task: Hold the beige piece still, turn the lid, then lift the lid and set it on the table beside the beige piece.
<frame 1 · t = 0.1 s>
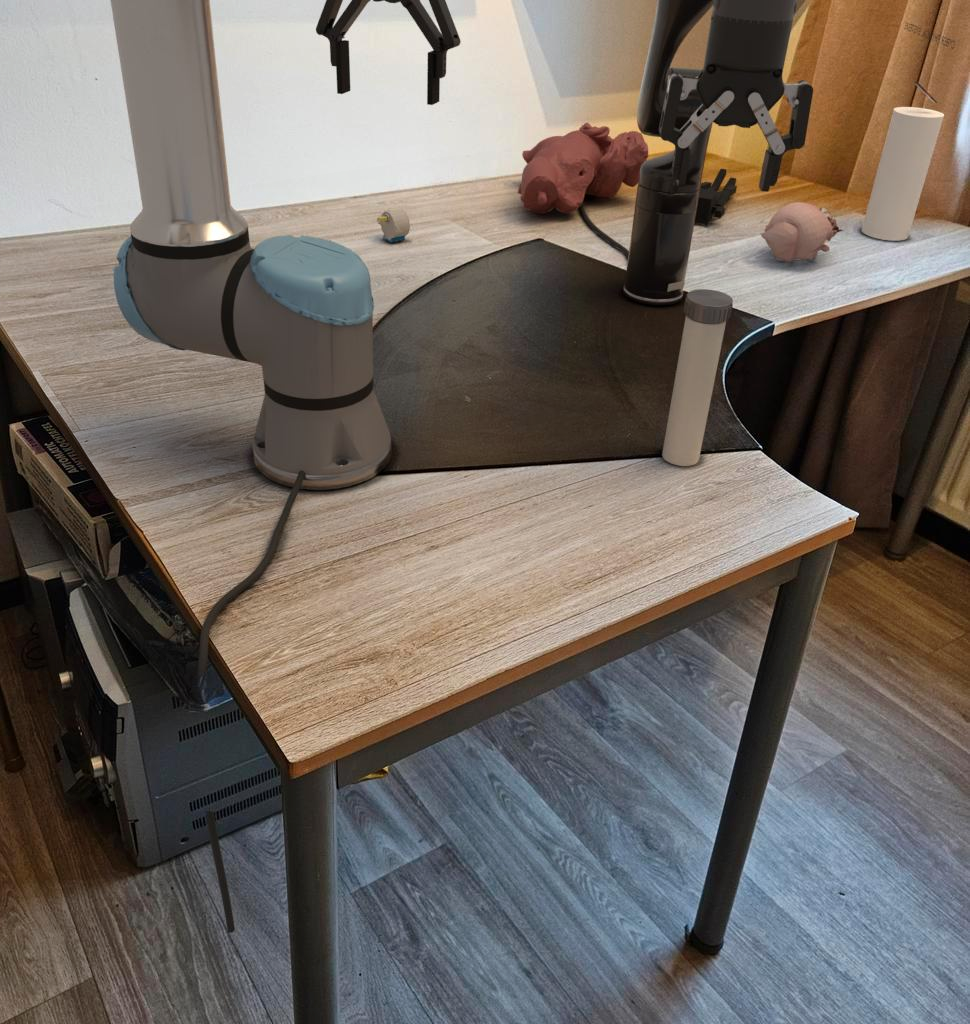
left hand: (388, 97, 135), 28 cm above the table, tool pointing down, fingers open, 13 cm apart
right hand: (721, 187, 99), 29 cm above the table, tool pointing down, fingers open, 8 cm apart
beige piece: (680, 456, 111), on the table
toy: (710, 205, 196), on the table
tall white tube: (880, 233, 185), on the table
lid: (709, 300, 101), point 19 cm above the table, screwed on, not yet turned
toy 2: (791, 258, 171), on the table
ceramic shard: (198, 296, 144), on the table
electric motor: (391, 241, 169), on the table
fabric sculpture: (573, 204, 192), on the table
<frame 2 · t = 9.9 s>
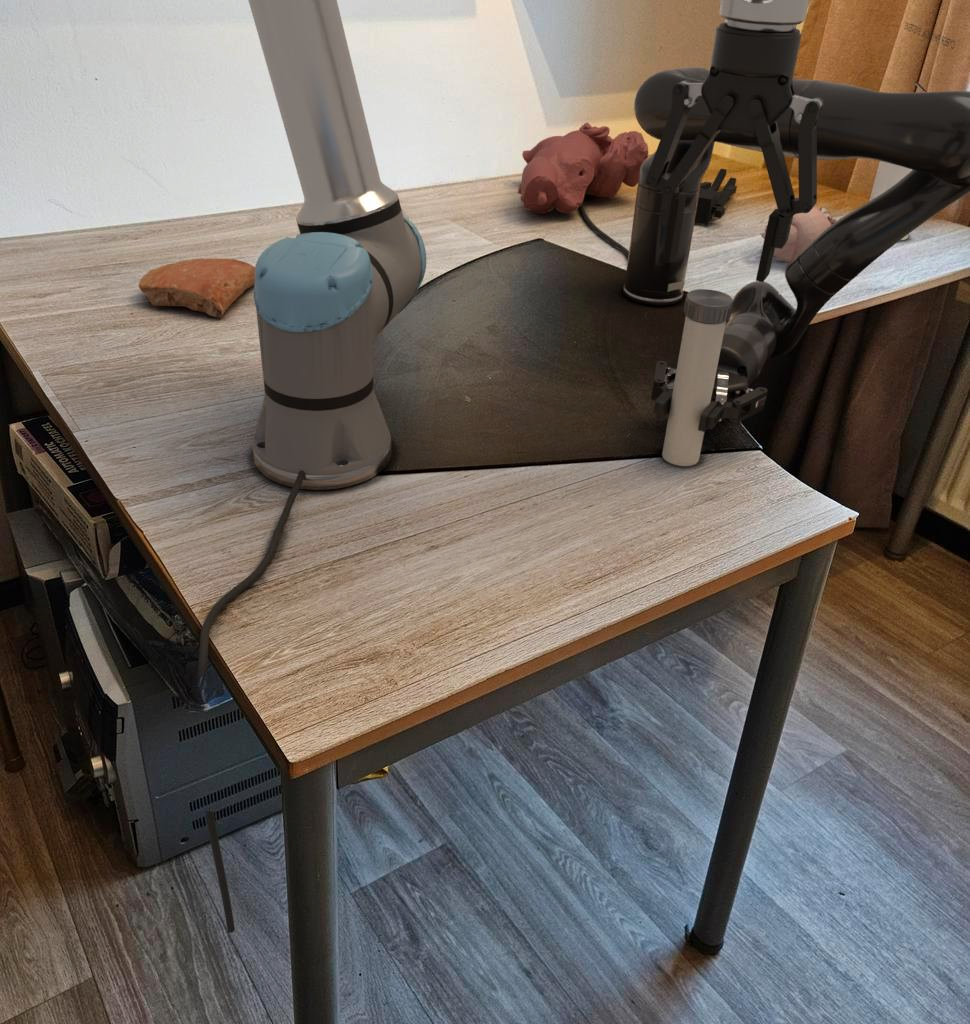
left hand: (715, 267, 99), 23 cm above the table, tool pointing down, fingers open, 9 cm apart
right hand: (681, 417, 106), 6 cm above the table, tool horizontal, fingers closed on beige piece, 4 cm apart
beige piece: (680, 456, 111), on the table, touching right hand
everything else where it was.
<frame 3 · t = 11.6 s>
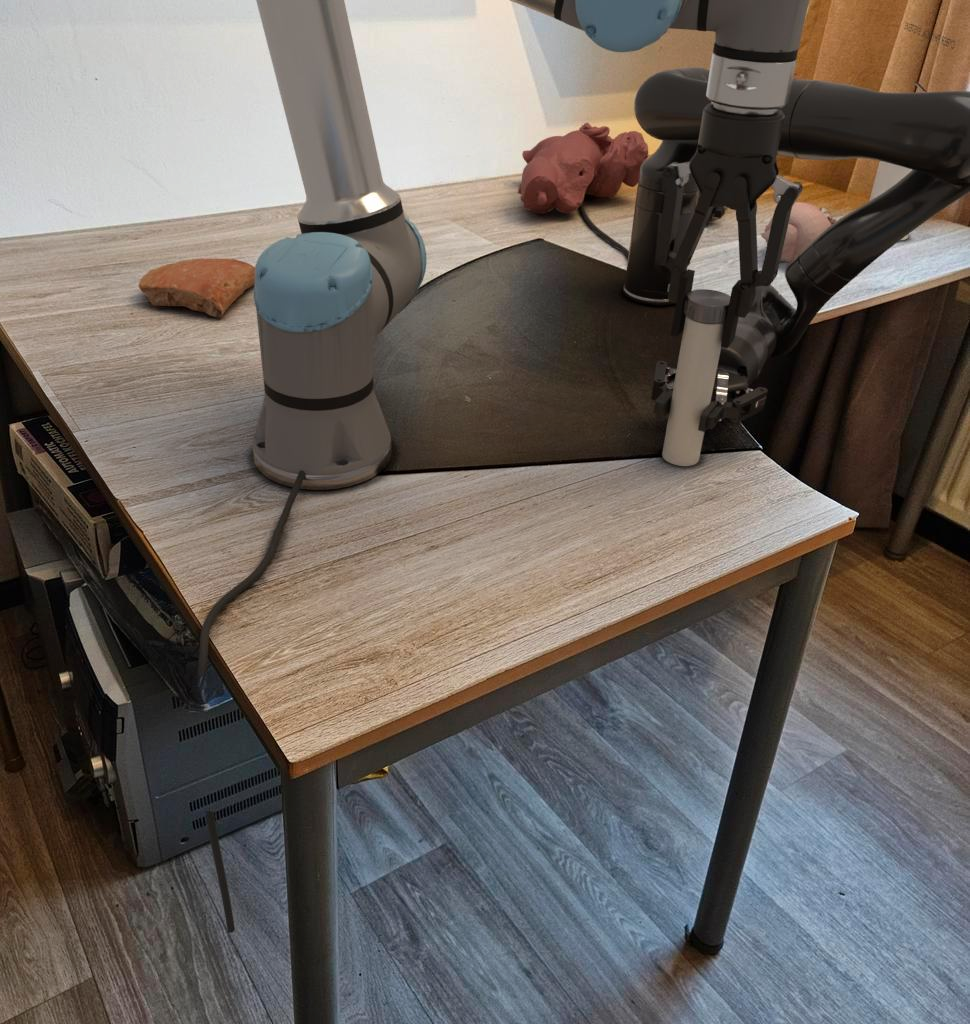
left hand: (702, 336, 103), 15 cm above the table, tool pointing down, fingers closed on lid, 5 cm apart
right hand: (681, 417, 106), 6 cm above the table, tool horizontal, fingers closed on beige piece, 4 cm apart
beige piece: (680, 456, 111), on the table, touching right hand
lid: (709, 300, 101), point 19 cm above the table, screwed on, not yet turned, touching left hand
everything else where it was.
when the left hand's fingers open (15 cm above the table, at t = 13.0 s): lid stays where it is, point 19 cm above the table.
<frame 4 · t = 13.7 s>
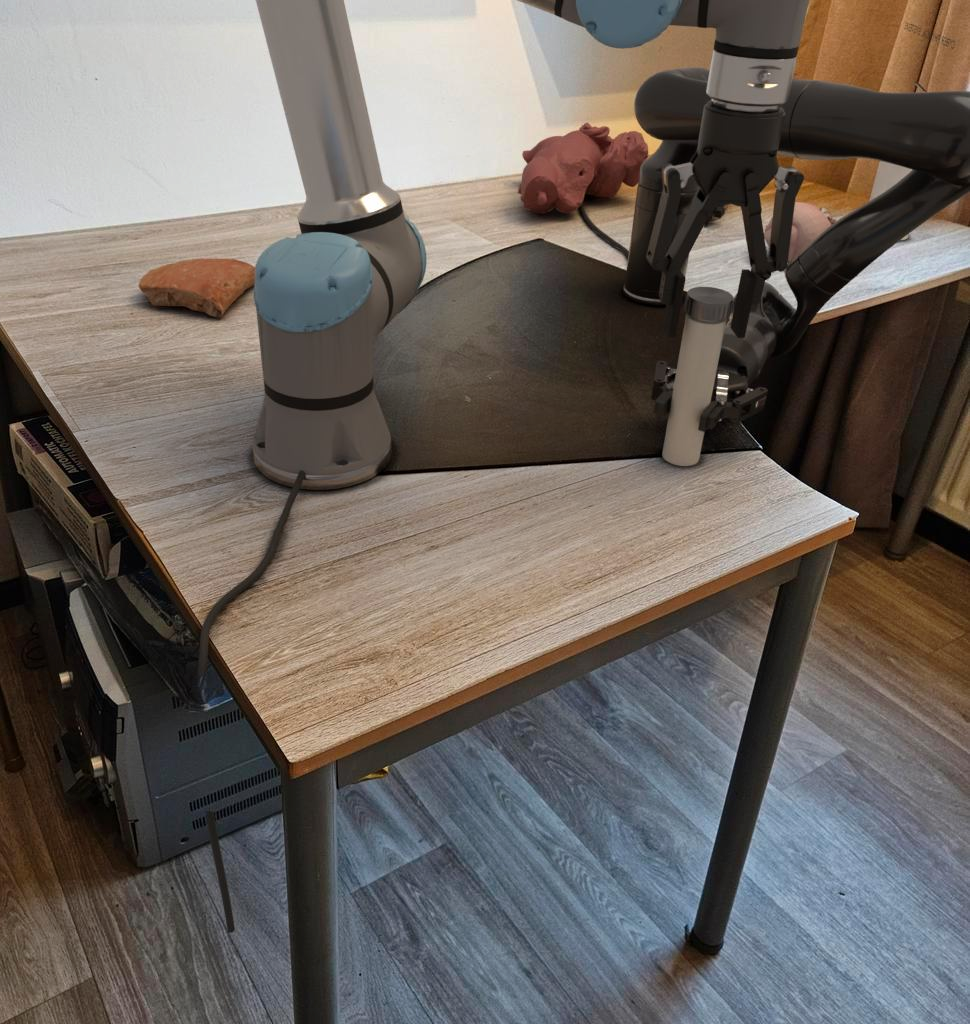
left hand: (703, 332, 103), 16 cm above the table, tool pointing down, fingers open, 7 cm apart
right hand: (681, 417, 106), 6 cm above the table, tool horizontal, fingers closed on beige piece, 4 cm apart
beige piece: (680, 456, 111), on the table, touching right hand
lid: (709, 298, 100), point 19 cm above the table, turned 97° so far, risen 0.3 cm, still on its thread
everything else where it was.
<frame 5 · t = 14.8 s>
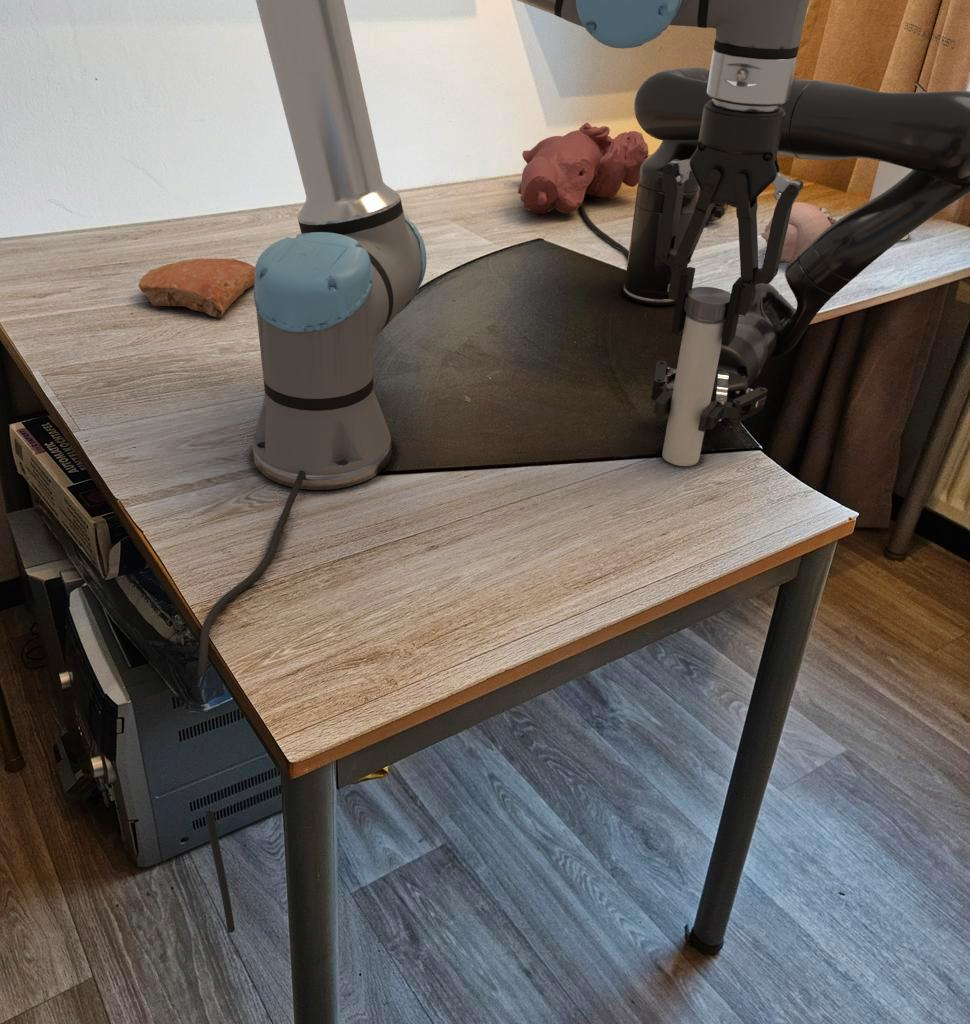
left hand: (702, 334, 103), 15 cm above the table, tool pointing down, fingers closed on lid, 5 cm apart
right hand: (681, 417, 106), 6 cm above the table, tool horizontal, fingers closed on beige piece, 4 cm apart
beige piece: (680, 456, 111), on the table, touching right hand
lid: (709, 298, 100), point 19 cm above the table, turned 97° so far, risen 0.3 cm, still on its thread, touching left hand
everything else where it was.
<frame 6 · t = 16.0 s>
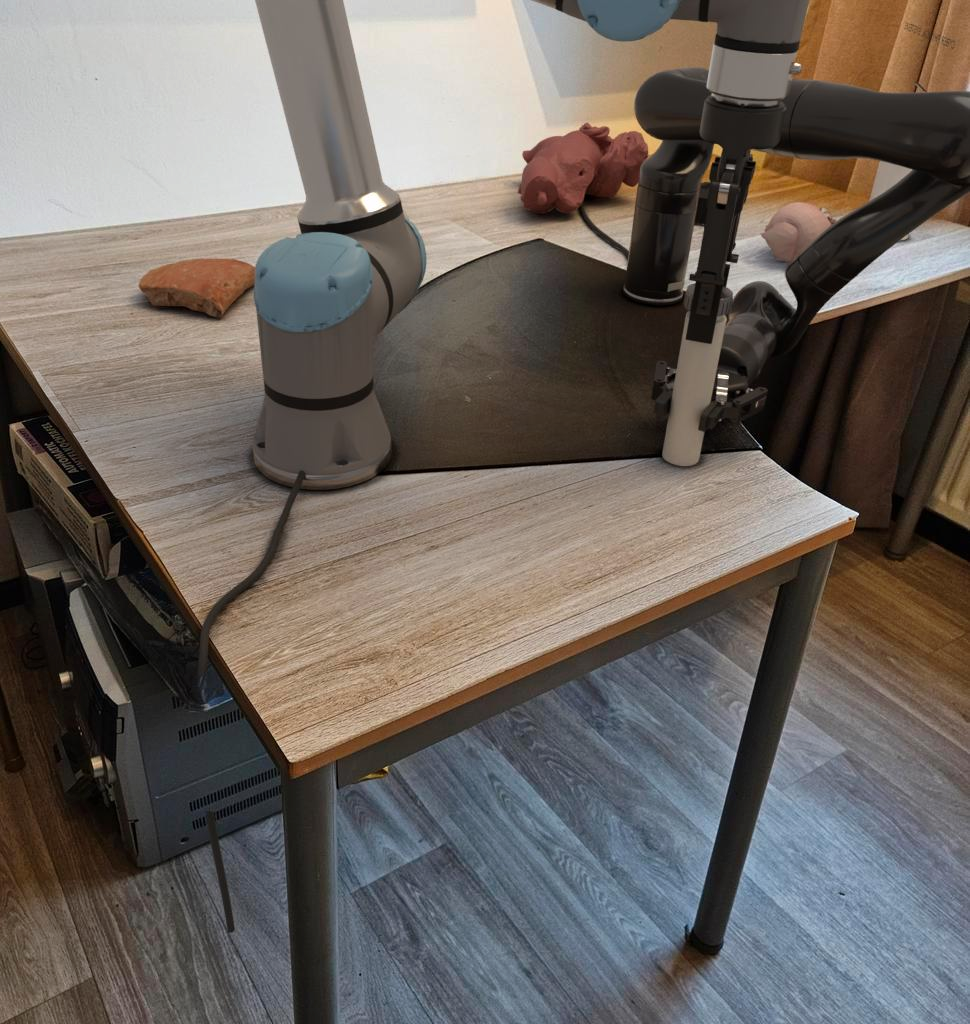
left hand: (702, 330, 102), 16 cm above the table, tool pointing down, fingers closed on lid, 5 cm apart
right hand: (681, 417, 106), 6 cm above the table, tool horizontal, fingers closed on beige piece, 4 cm apart
beige piece: (680, 456, 111), on the table, touching right hand
lid: (709, 294, 100), point 20 cm above the table, off its thread, touching left hand
everything else where it was.
when the left hand's fingers open (0 cm above the table, at t = 21.6 s): lid drops 3 cm, point 2 cm above the table.
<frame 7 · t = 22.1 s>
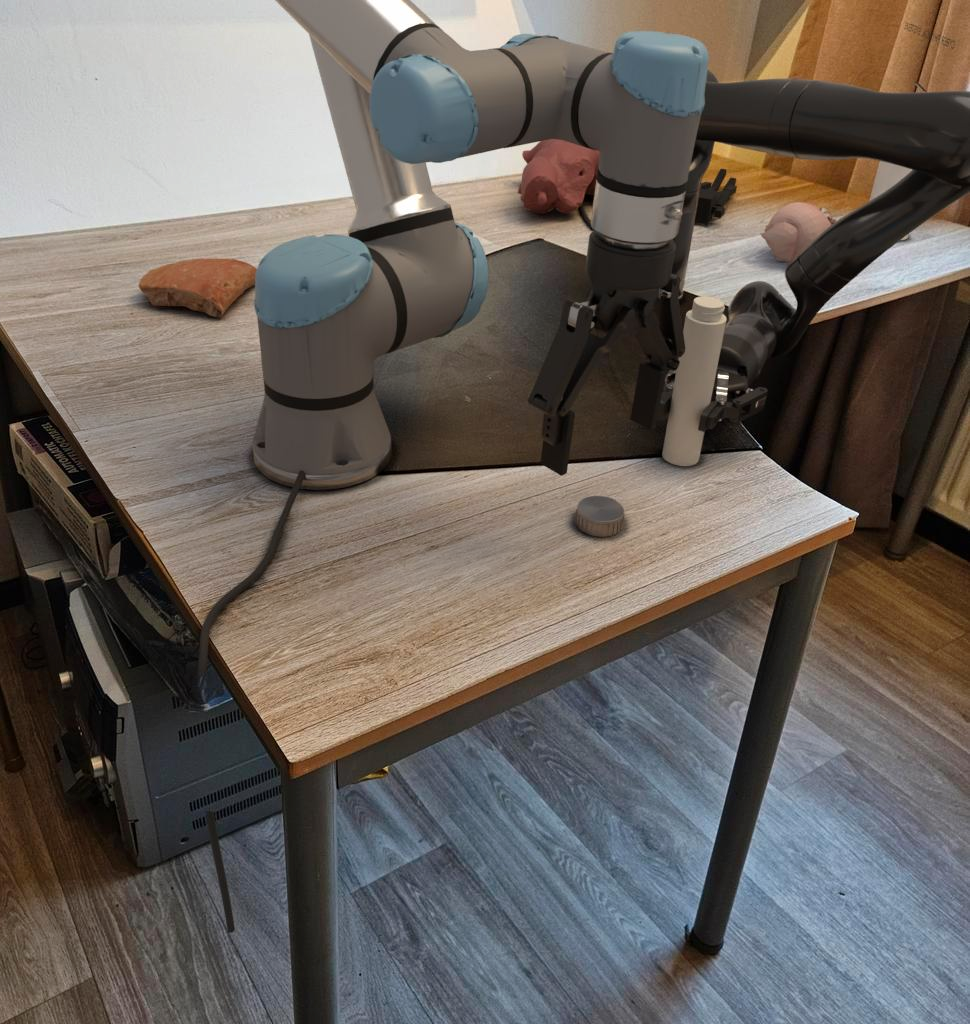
left hand: (599, 445, 95), 9 cm above the table, tool pointing down, fingers open, 13 cm apart
right hand: (681, 417, 106), 6 cm above the table, tool horizontal, fingers closed on beige piece, 4 cm apart
beige piece: (680, 456, 111), on the table, touching right hand
lid: (600, 511, 98), point 2 cm above the table, off its thread
everything else where it was.
when the right hand's fingers open (6 cm above the table, at t = 22.1 s): beige piece stays where it is, on the table.
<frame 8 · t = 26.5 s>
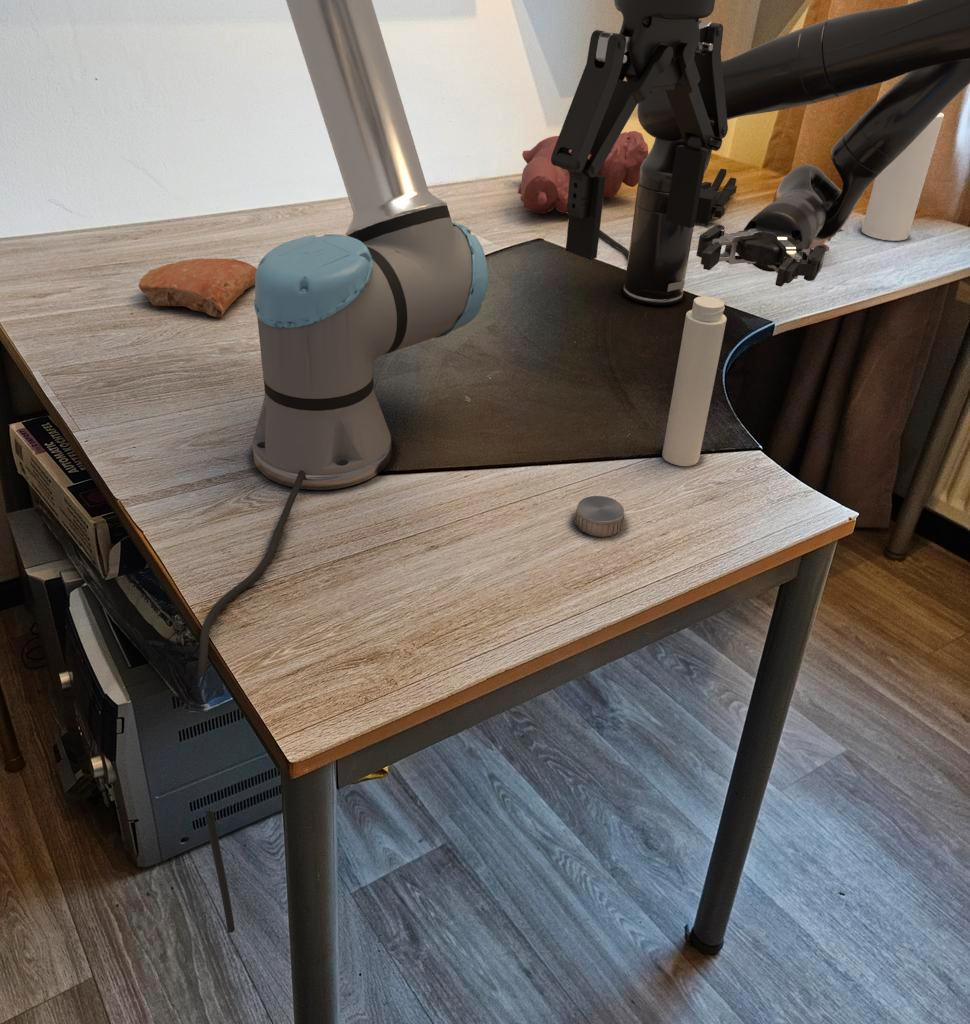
left hand: (632, 238, 83), 30 cm above the table, tool pointing down, fingers open, 13 cm apart
right hand: (743, 269, 109), 19 cm above the table, tool horizontal, fingers open, 8 cm apart
beige piece: (680, 456, 111), on the table
everything else where it was.
at the end: lid came off its thread; lid point 1.5 cm above the table; the left hand is holding nothing; the right hand is holding nothing; beige piece tilted 0°; beige piece moved 0.0 cm from its start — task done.
